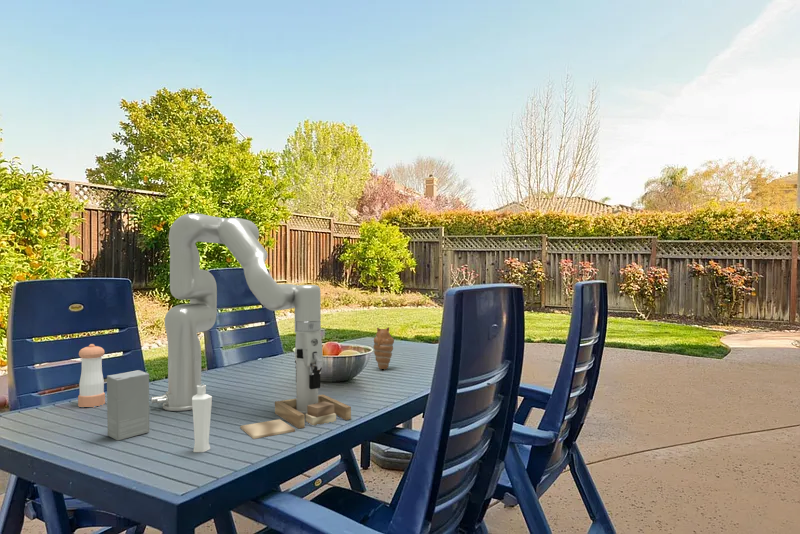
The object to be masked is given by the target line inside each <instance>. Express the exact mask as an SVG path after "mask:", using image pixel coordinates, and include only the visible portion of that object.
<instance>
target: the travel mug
mask: <svg viewBox="0 0 800 534" xmlns="http://www.w3.org/2000/svg"><path fill="white" fill-rule="evenodd" d="M296 359H297V360H296V363H295V366H296V368H295V383H296V384H295V385H296V395H295V396H296V398H295V399H296V408H297V411H299V412H301V413H303V414H304V415H305V418H306V414H307V405H311V404H316V403H318V395H319V388H317V389H310V388H309V375H311V374H310V371H309V367H305V365H304V361H303V360H304V359H303V349H297V357H296ZM313 369H314V368H313Z"/></svg>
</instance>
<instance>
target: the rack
mask: <svg viewBox="0 0 800 534" xmlns="http://www.w3.org/2000/svg"><path fill="white" fill-rule="evenodd" d="M324 401H325V402H329V403H332V404H334V413H335V414H336V416H337V415H338V416H337V417H339V416H340V417H339V418H340V419H342V420H345V421H349V419H350V420H352V407H351V406H350V405H348V404H346V403H344V402H341V401H339V400H337V399H335V398H332V397H330V396H328V395H325V394H318V403H320V402H324ZM274 414H275V415H277V416H278V417H280V418H281V419H283V421H284V420H285V421H286V422H288V423H289V424H291V425H292V426H294V427H295V428H297V429H298V430H300V428H301V429H305V426H306V425H305V423H306V417H305V415H304V414H303V413H301V412H299V411H297V408H296V398H292V399H290V398H289V399H282V400H278V401H277V400H276V401H274Z"/></svg>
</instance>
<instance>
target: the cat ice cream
mask: <svg viewBox="0 0 800 534" xmlns="http://www.w3.org/2000/svg"><path fill="white" fill-rule="evenodd" d="M394 343H395V339H394V338H393V337H392V335H391V334H390V327H389V326H388V327H387V328H379V327H376V334H375V337H374V339H373V347H372V349H374V351H373V354H374V356H375V361H376V363H377V367H378V368H379V369H380V370H381V369H385V370H386V369H388V368H389V364H390V362H391V358H392V356H393V353H392V352H393V350H394V347H393V344H394Z"/></svg>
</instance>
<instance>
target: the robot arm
mask: <svg viewBox="0 0 800 534" xmlns="http://www.w3.org/2000/svg"><path fill="white" fill-rule="evenodd" d="M259 237H260V231H259V228H258V226H257V225H256V224H255V223H254V222H253V221H251V220H249V219H245V218H240V217H228V218H227V217H221V216H220V217H218V216H213V215H208V214H203V213H193V212H192V213H186V214H183V215H181V216H179V217H178V218H176V220H174V222H173V223H172V225H171V227H170V228H169V233H168V247H169V255H170V256H169V257H170V258H169V290H170V293H171V295H172V297H174V298H175V299H178V300H182V301H188V300H189V303H181V304H177V305H175V306H173V307H171V308H170V309H169V310H168V311H167V312H166V314H165V317H164V328H165V333H166V337H167V338H166V339H167V373H168V374H167V378H168V379H167V383H168V384H167V388H168V390H167V391H165V394H162V395H159V396H158V395H157V396H151V398H150V404H157V405H158V404H162V409H163V410H165V411H169V412H171V411H172V412H173V411H174V412H181V411H182V412H183V411H191V410H192V411H193V407H192V397H193V396H195V395H196V394H197V385H202V345H201V342H200V339H199V335H198V333H202V332H206V331H209V330H211V329H212V328H213V327H214V325H215V323H216V320H217V312H218V311H217V307H218V305H217V304H218V301H217V299H218V298H217V297H218V296H217V295H218V290H217V286H218V285H217V282H216V279H215V277H214V275H213V274H212V273H211V272H210V271H209V270H205V269H201V267H200V252H199V249H198V247H197V245H196V243H198V242H203V243H211V244H212V243H213V244H223V245H225V247H226V248H227V249H228V250H229V252H230V253H231V254H232V256H233V257H234V258H235V260H236V261H237V262H238V263H239V264H240V266H241V267H242V269H243V272H244V277H245V280H246V284H247V286H248V288H249V290H250V292H252V295H254V297H255V298H256V299H257V301H258V302H259V303H260V304H261V305H262V306H263V307H264V308H266V309H267V310H269V311H274V312H277V311H283V310H284V311H285V310H291V309H294V333H295V341H294V342H295V343H294V344H295V348H294V359H295V360H294V363H295V364H296V360H297V359H296V357H297V349H303V359H304V360H303V361H304V365H305V367H309V371H310V374H311V375H309V388H310V389H317V388H318V389H320V388H321V374H322V366H323V363H324V362H323V361H324V358H323V357H324V353H323V342H322V337H321V336H322V335H321V331H322V330H321V324H322V323H321V319H322V318H321V317H322V316H321V315H322V314H321V307H322V306H321V303H322V302H321V298H322V297H321V288H320V286H319V285H317V284H299V285H297V284H292V283H290V284H289V283H283V284H282V283H279V284H278V283H277V282H276V281H275V279H274V278H273V277H272V275H271V274H270V272H269V270H268V269H267V267H266V260H267V259H268V251H267V250H266V249H265V247H264V246H263V244H261V243H260V240H259ZM313 368H314V369H313ZM295 369H296V365H295Z"/></svg>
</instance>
